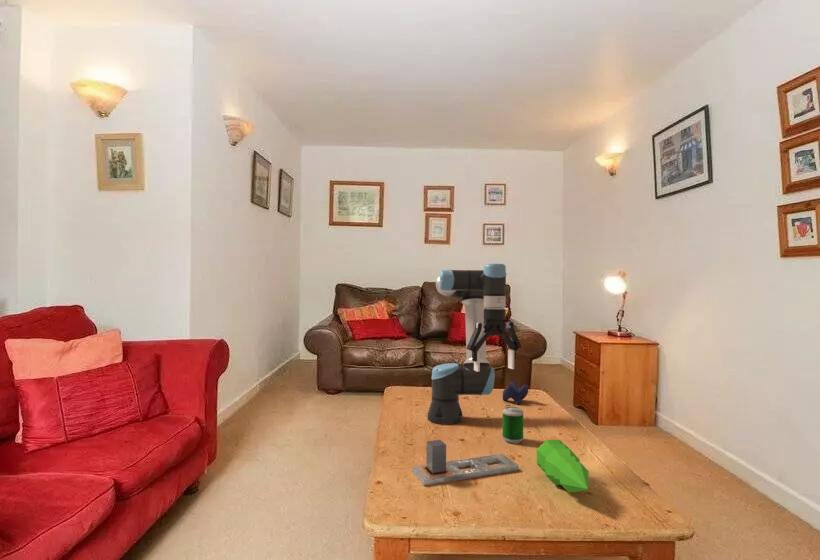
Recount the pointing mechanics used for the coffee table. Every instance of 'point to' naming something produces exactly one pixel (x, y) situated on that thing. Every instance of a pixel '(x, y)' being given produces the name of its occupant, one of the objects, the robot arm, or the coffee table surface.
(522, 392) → the tetrapod
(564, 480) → the decorative tree
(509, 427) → the soda can
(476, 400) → the coffee table surface
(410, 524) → the coffee table surface
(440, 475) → the grey board with holes
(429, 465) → the rectangular block
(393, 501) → the coffee table surface
